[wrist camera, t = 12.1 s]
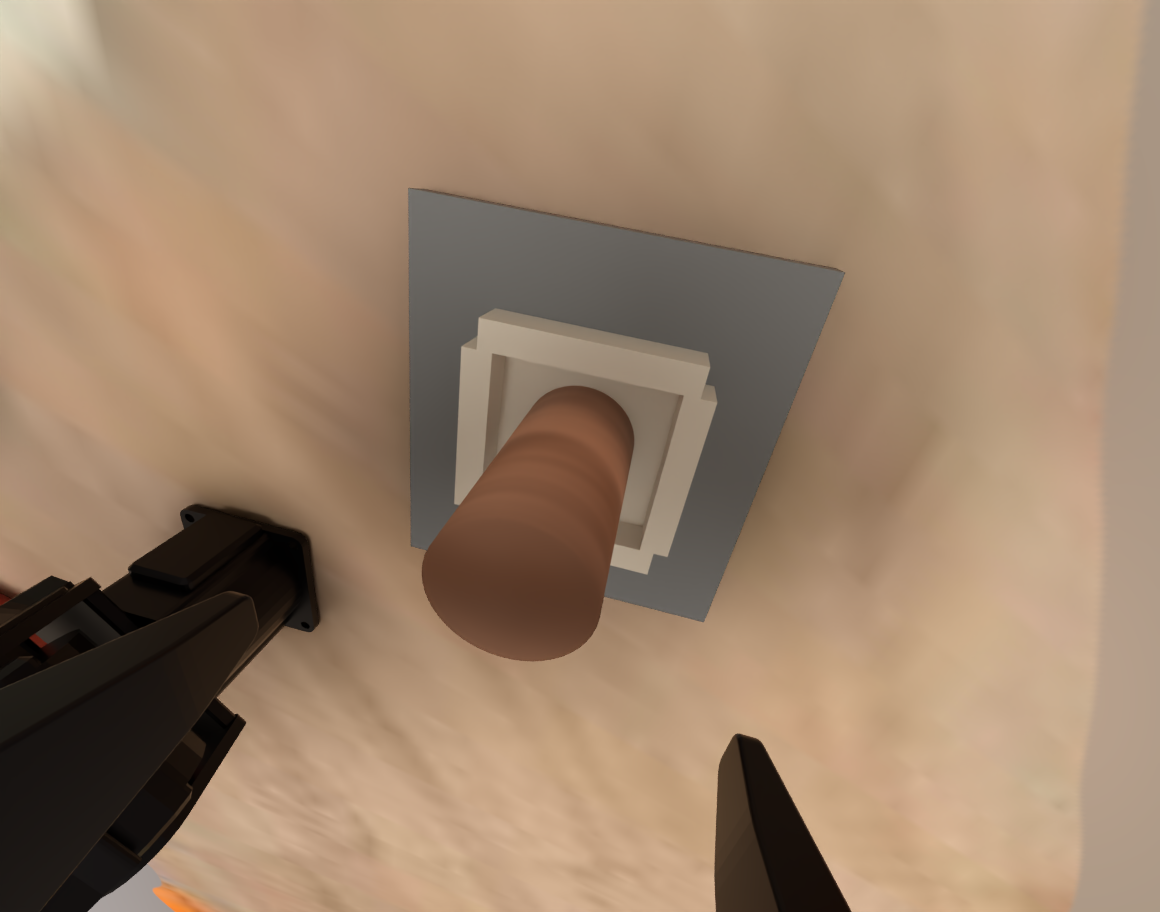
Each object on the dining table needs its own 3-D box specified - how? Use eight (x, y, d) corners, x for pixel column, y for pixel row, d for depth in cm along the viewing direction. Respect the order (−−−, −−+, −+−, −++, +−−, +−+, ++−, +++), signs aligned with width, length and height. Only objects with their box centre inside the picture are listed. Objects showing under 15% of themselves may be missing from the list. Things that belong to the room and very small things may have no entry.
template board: (702, 605, 21) (705, 651, 19) (421, 532, 22) (393, 568, 20) (835, 268, 15) (862, 279, 12) (423, 189, 16) (381, 186, 13)
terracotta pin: (621, 497, 18) (583, 679, 11) (519, 473, 19) (421, 634, 12) (645, 399, 16) (617, 546, 9) (531, 374, 17) (422, 497, 10)
